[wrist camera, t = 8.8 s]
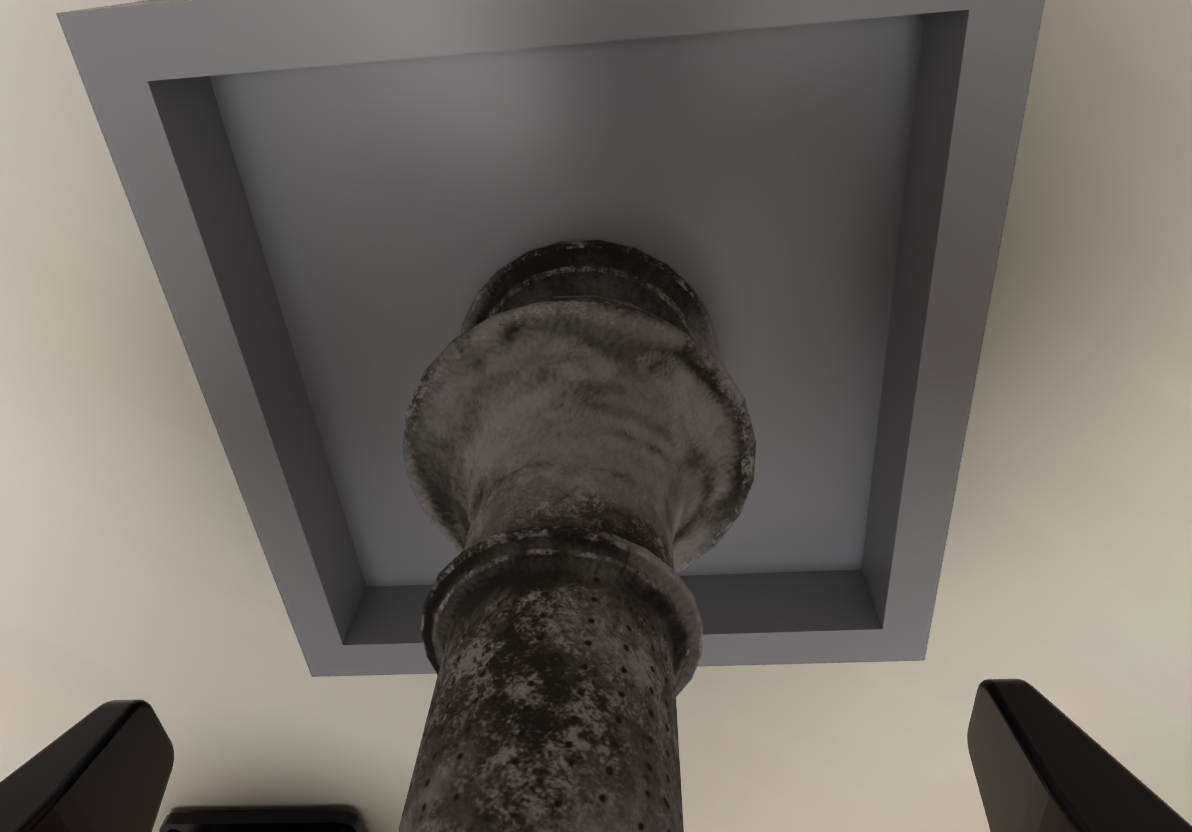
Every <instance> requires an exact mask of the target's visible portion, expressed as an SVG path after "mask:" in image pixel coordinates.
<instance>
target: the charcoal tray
mask: <svg viewBox="0 0 1192 832" xmlns="http://www.w3.org/2000/svg"><path fill="white" fill-rule="evenodd" d="M1044 1H1045V0H149V1H141V2H134V3H127V4H119V5H112V6H105V7H98V8H91V9H84V10H76V11H69V12H62V13H56V14H57V17H58V19H59V22H60V24H61V27H62V30H63V32H64V35H65V37H66V40H67V43H68V45H69V48H70V50H71V53H72V56H73V58H74V61H75V63H76V66H77V69H78V71H79V74H80V76H81V79H82V81H83V84H84V87H85V89H86V92H87V94H88V97H89V100H90V102H91V105H92V107H93V110H94V113H95V115H96V118H97V120H98V123H99V126H100V128H101V131H102V133H103V136H104V139H105V141H106V144H107V146H108V149H109V152H110V154H111V157H112V159H113V162H114V164H115V167H116V170H117V172H118V175H119V177H120V180H121V183H122V185H123V188H124V190H125V193H126V196H127V198H128V201H129V203H130V206H131V209H132V211H133V214H134V216H135V219H136V222H137V224H138V227H139V229H140V232H141V235H142V237H143V240H144V242H145V245H146V247H147V250H148V253H149V255H150V258H151V260H152V263H153V266H154V268H155V271H156V273H157V276H158V279H159V281H160V284H161V286H162V289H163V292H164V294H165V297H166V299H167V302H168V305H169V307H170V310H171V312H172V315H173V318H174V320H175V323H176V325H177V328H178V331H179V333H180V336H181V338H182V341H183V343H184V346H185V349H186V351H187V354H188V356H189V359H190V362H191V364H192V367H193V369H194V372H195V375H196V377H197V380H198V382H199V385H200V388H201V390H202V393H203V395H204V398H205V401H206V403H207V406H208V408H209V411H210V414H211V416H212V419H213V421H214V424H215V426H216V429H217V432H218V434H219V437H220V439H221V442H222V445H223V447H224V450H225V452H226V455H227V458H228V460H229V463H230V465H231V468H232V471H233V473H234V476H235V478H236V481H237V484H238V486H239V489H240V491H241V494H242V497H243V499H244V502H245V504H246V507H247V509H248V512H249V515H250V517H251V520H252V522H253V525H254V528H255V530H256V533H257V535H258V538H259V541H260V543H261V546H262V548H263V551H264V554H265V556H266V559H267V561H268V564H269V567H270V569H271V572H272V574H273V577H274V580H275V582H276V585H277V587H278V590H279V592H280V595H281V598H282V600H283V603H284V605H285V608H286V611H287V613H288V616H289V618H290V621H291V624H292V626H293V629H294V631H295V634H296V637H297V639H298V642H299V644H300V647H301V650H302V652H303V655H304V657H305V660H306V663H307V665H308V668H309V670H310V673H311V676H312V677H318V676H355V675H393V674H430V673H436V671H435V670H434V668H433V666H432V665H431V663H430V661H429V660H428V658H427V656H426V653H425V648H424V644H423V639H422V635H421V631H420V629H421V621H422V614H423V606H424V601H425V598H426V596H427V594H428V593H429V591H430V589H431V587H432V585H433V583H434V581H435V580H436V578H437V576H438V574H439V573H440V572H441V571H442V570H443V569H444V568H445V567H446V566H447V565H448V564H449V563H450V562H451V561H452V560H454V559H455V558H456V557H457V556H458V555H459V554H460V553H461V552H459V551H458V550H456V549H455V548H454V547H453V546H452V545H451V544H450V543H449V541H448V540H447V539H446V538H445V537H444V536H443V535H442V534H441V533H440V532H439V531H438V530H437V529H436V528H435V527H434V526H433V525H432V523H431V522H430V521H429V520H428V519H427V517H426V515H425V513H424V511H423V509H422V508H421V506H420V504H419V502H418V500H417V498H416V497H415V495H414V493H413V491H412V489H411V487H410V484H409V479H408V475H407V470H406V465H405V461H404V456H403V451H402V446H403V436H404V427H405V417H406V410H407V408H408V406H409V404H410V401H411V399H412V397H413V395H414V393H415V390H416V388H417V386H418V384H419V382H420V379H421V377H422V375H423V373H424V371H425V370H426V369H427V368H428V367H429V365H430V364H431V363H432V362H433V361H434V360H435V359H436V358H437V357H438V356H439V354H440V353H441V352H442V351H443V350H444V349H445V348H446V347H447V346H448V345H449V343H450V342H451V341H452V340H453V339H455V338H456V337H458V336H460V335H461V329H462V324H463V322H464V320H465V318H466V315H467V313H468V311H469V309H470V307H471V305H472V303H473V301H474V298H475V296H476V294H477V293H478V292H479V291H480V290H481V289H482V288H483V286H484V285H485V284H486V283H487V282H488V281H489V280H490V279H491V278H492V276H493V275H494V274H495V273H496V272H497V271H498V270H499V269H501V268H502V267H504V266H505V265H507V264H509V263H510V262H512V261H513V260H515V259H517V258H518V257H520V256H521V255H523V254H525V253H526V252H528V251H532V250H535V249H538V248H541V247H545V246H548V245H551V244H555V243H558V242H561V241H585V240H601V241H605V242H610V243H615V244H619V245H624V246H628V247H633V248H636V249H638V250H640V251H642V252H644V253H646V254H648V255H649V256H651V257H653V258H655V259H657V260H659V261H661V262H663V263H665V264H667V265H668V266H669V267H670V268H671V269H672V270H674V271H675V272H676V273H677V274H678V275H679V276H680V277H681V278H682V279H683V280H685V281H686V282H687V283H688V284H689V285H690V286H691V287H692V288H693V289H694V291H695V293H696V294H697V296H698V298H699V299H700V301H701V302H702V304H703V306H704V307H705V309H706V310H707V312H708V314H709V315H710V319H711V322H712V326H713V330H714V334H715V337H716V341H717V345H718V360H719V361H720V362H722V363H723V365H724V367H725V368H726V370H727V371H728V373H729V374H730V376H731V378H732V379H733V381H734V382H735V384H736V386H737V387H738V389H739V390H740V392H741V394H742V395H743V397H744V398H745V400H746V404H747V408H748V411H749V415H750V419H751V423H752V427H753V431H754V435H755V438H756V455H755V470H754V481H753V484H752V486H751V489H750V491H749V494H748V496H747V499H746V501H745V504H744V506H743V509H742V511H741V514H740V516H739V517H738V518H737V520H736V521H735V522H734V523H733V525H732V526H731V527H730V528H729V530H728V531H727V532H726V534H725V535H724V536H723V537H722V539H721V540H720V541H719V542H718V544H717V545H716V546H715V547H713V548H712V549H711V550H709V551H708V552H707V553H705V554H704V555H703V556H701V557H700V558H699V559H697V560H696V561H695V562H693V563H692V564H691V565H689V566H688V567H687V568H685V569H683V570H681V571H679V572H676V573H677V574H678V575H679V577H680V578H681V579H682V581H683V582H684V583H685V585H686V586H687V587H688V589H689V590H690V591H691V593H692V594H693V596H694V599H695V601H696V604H697V607H698V610H699V613H700V616H701V619H702V623H703V640H702V655H701V658H700V660H699V663H698V665H697V666H731V665H769V664H806V663H844V662H881V661H919V660H925V654H926V649H927V644H928V638H929V633H930V627H931V622H932V616H933V611H934V605H935V600H936V594H937V589H938V583H939V578H940V572H941V567H942V561H943V556H944V550H945V545H946V539H947V534H948V528H949V523H950V517H951V512H952V506H953V501H954V495H955V490H956V484H957V479H958V473H959V468H960V462H961V457H962V451H963V446H964V440H965V435H966V429H967V424H968V418H969V413H970V407H971V402H972V396H973V391H974V385H975V380H976V374H977V369H978V363H979V358H980V352H981V347H982V341H983V336H984V330H985V325H986V319H987V314H988V308H989V303H990V297H991V292H992V286H993V281H994V275H995V270H996V264H997V259H998V253H999V248H1000V242H1001V237H1002V231H1003V226H1004V220H1005V215H1006V209H1007V204H1008V198H1009V193H1010V187H1011V182H1012V176H1013V171H1014V165H1015V160H1016V154H1017V149H1018V143H1019V138H1020V132H1021V127H1022V121H1023V116H1024V110H1025V105H1026V99H1027V94H1028V88H1029V83H1030V78H1031V72H1032V67H1033V61H1034V56H1035V50H1036V45H1037V39H1038V34H1039V28H1040V23H1041V17H1042V12H1043V6H1044Z"/></svg>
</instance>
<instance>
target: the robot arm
mask: <svg viewBox="0 0 1192 832" xmlns="http://www.w3.org/2000/svg"><path fill="white" fill-rule="evenodd" d="M967 740H968V748H969V754H970V758H971V761H972V765H973V769H974V772H975V776H976V780H977V783H978V787H979V791H980V794H981V798H982V802H983V805H984V809H985V813H986V816H987V820H988V824H989V827H990V831H991V832H1192V826H1191V825H1190V824H1189V823H1188V822H1187V821H1186V820H1185V819H1183V818H1182V817H1181V816H1180V815H1179V814H1178V813H1177V812H1175V811H1174V810H1173V809H1172V808H1171V807H1170V806H1169V805H1167V804H1166V803H1165V802H1164V801H1163V800H1162V799H1161V798H1159V797H1158V796H1157V795H1156V794H1155V793H1154V792H1153V791H1151V790H1150V789H1149V788H1148V787H1147V786H1146V785H1145V784H1144V783H1142V782H1141V781H1140V780H1139V779H1138V778H1137V777H1136V776H1134V775H1133V774H1132V773H1131V772H1130V771H1129V770H1128V769H1126V768H1125V767H1124V766H1123V765H1122V764H1121V763H1120V762H1118V761H1117V760H1116V759H1115V758H1114V757H1113V756H1112V755H1110V754H1109V753H1108V752H1107V751H1106V750H1105V749H1104V748H1102V747H1101V746H1100V745H1099V744H1098V743H1097V742H1096V741H1094V740H1093V739H1092V738H1091V737H1090V736H1089V735H1088V734H1087V733H1085V732H1084V731H1083V730H1082V729H1081V728H1080V727H1079V726H1077V725H1076V724H1075V723H1074V722H1073V721H1072V720H1071V719H1069V718H1068V717H1067V716H1066V715H1065V714H1064V713H1063V712H1061V711H1060V710H1059V709H1058V708H1057V707H1056V706H1055V705H1053V704H1052V703H1051V702H1050V701H1049V700H1048V699H1047V698H1045V697H1044V696H1043V695H1042V694H1041V693H1040V692H1039V691H1037V690H1036V689H1035V688H1034V687H1033V686H1032V685H1030V684H1029V683H1027V682H1025V681H1023V680H1021V679H988V680H984V681H983V682H981V684H980V685H979V687H978V689H977V693H976V697H975V702H974V706H973V710H972V714H971V718H970V723H969V727H968V734H967ZM173 762H174V750H173V745H172V743H171V741H170V739H169V737H168V735H167V733H166V732H165V730H164V728H163V726H162V724H161V723H160V721H159V719H158V717H157V715H156V714H155V712H154V710H153V708H152V707H151V705H150V704H149V703H147V702H146V701H144V700H114V701H109V702H106V703H104V704H102V705H101V706H99V707H98V708H96V709H95V710H94V711H92V712H91V713H90V714H88V715H87V716H86V717H85V718H83V719H82V720H81V721H79V722H78V723H77V724H75V725H74V726H73V727H72V728H70V729H69V730H68V731H66V732H65V733H64V734H62V735H61V736H60V737H59V738H57V739H56V740H55V741H53V742H52V743H51V744H49V745H48V746H47V747H46V748H44V749H43V750H42V751H40V752H39V753H38V754H36V755H35V756H34V757H32V758H31V759H30V760H29V761H27V762H26V763H25V764H23V765H22V766H21V767H19V768H18V769H17V770H16V771H14V772H13V773H12V774H10V775H9V776H8V777H6V778H5V779H4V780H3V781H1V782H0V832H152V830H153V827H154V823H155V820H156V817H157V814H158V811H159V808H160V805H161V802H162V799H163V796H164V793H165V789H166V786H167V783H168V780H169V777H170V774H171V771H172V767H173ZM159 831H160V832H365V830H364V828H363V825H362V823H361V820H360V819H359V817H358V816H357V815H355V814H354V813H352V812H349V811H342V810H333V811H257V812H182V813H170V814H169V815H167V816H166V818H165V820H164V822H163V824H162V826H161V828H160V830H159Z"/></svg>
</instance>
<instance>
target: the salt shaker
mask: <svg viewBox="0 0 1192 832" xmlns="http://www.w3.org/2000/svg"><path fill="white" fill-rule="evenodd" d="M402 451H403V456H404V461H405V465H406V470H407V475H408V479H409V484H410V487H411V489H412V491H413V493H414V495H415V497H416V498H417V500H418V502H419V504H420V506H421V508H422V509H423V511H424V513H425V515H426V517H427V519H428V520H429V521H430V522H431V523H432V525H433V526H434V527H435V528H436V529H437V530H438V531H439V532H440V533H441V534H442V535H443V536H444V537H445V538H446V539H447V540H448V541H449V543H450V544H451V545H452V546H453V547H454V548H455V549H456V550H458V551H459V552H461V553H460V554H459V555H458V556H457V557H456V558H455V559H454V560H452V561H451V562H450V563H449V564H448V565H447V566H446V567H445V568H444V569H443V570H442V571H441V572H440V573H439V574H438V576H437V578H436V580H435V581H434V583H433V585H432V587H431V589H430V591H429V593H428V594H427V596H426V598H425V601H424V606H423V614H422V621H421V629H420V631H421V635H422V639H423V644H424V648H425V653H426V656H427V658H428V660H429V661H430V663H431V665H432V666H433V668H434V670H435V671H436V673H437V675H438V677H437V681H436V685H435V689H434V693H433V697H432V701H431V705H430V709H429V712H428V716H427V720H426V724H425V728H424V732H423V736H422V740H421V744H420V748H419V752H418V756H417V759H416V763H415V767H414V771H413V775H412V779H411V783H410V787H409V791H408V795H407V799H406V803H405V807H404V810H403V814H402V818H401V822H400V827H399V832H684V830H683V813H682V795H681V778H680V761H679V744H678V727H677V709H676V697H677V695H678V694H679V693H680V692H681V691H682V690H683V688H684V687H685V686H686V685H687V684H688V683H689V681H690V680H691V679H692V677H693V675H694V672H695V670H696V667H697V665H698V663H699V660H700V658H701V655H702V640H703V623H702V619H701V616H700V613H699V610H698V607H697V604H696V601H695V599H694V596H693V594H692V593H691V591H690V590H689V589H688V587H687V586H686V585H685V583H684V582H683V581H682V579H681V578H680V577H679V575H678V574H677V573H676V572H679V571H681V570H683V569H685V568H687V567H688V566H689V565H691V564H692V563H693V562H695V561H696V560H697V559H699V558H700V557H701V556H703V555H704V554H705V553H707V552H708V551H709V550H711V549H712V548H713V547H715V546H716V545H717V544H718V542H719V541H720V540H721V539H722V537H723V536H724V535H725V534H726V532H727V531H728V530H729V528H730V527H731V526H732V525H733V523H734V522H735V521H736V520H737V518H738V517H739V516H740V514H741V511H742V509H743V506H744V504H745V501H746V499H747V496H748V494H749V491H750V489H751V486H752V484H753V481H754V470H755V455H756V438H755V435H754V431H753V427H752V423H751V419H750V415H749V411H748V408H747V404H746V400H745V398H744V397H743V395H742V394H741V392H740V390H739V389H738V387H737V386H736V384H735V382H734V381H733V379H732V378H731V376H730V374H729V373H728V371H727V370H726V368H725V367H724V365H723V363H722V362H720V361H719V360H718V345H717V341H716V337H715V334H714V330H713V326H712V322H711V319H710V315H709V314H708V312H707V310H706V309H705V307H704V306H703V304H702V302H701V301H700V299H699V298H698V296H697V294H696V293H695V291H694V289H693V288H692V287H691V286H690V285H689V284H688V283H687V282H686V281H685V280H683V279H682V278H681V277H680V276H679V275H678V274H677V273H676V272H675V271H674V270H672V269H671V268H670V267H669V266H668V265H667V264H665V263H663V262H661V261H659V260H657V259H655V258H653V257H651V256H649V255H648V254H646V253H644V252H642V251H640V250H638V249H636V248H633V247H628V246H624V245H619V244H615V243H610V242H605V241H601V240H585V241H561V242H558V243H555V244H551V245H548V246H545V247H541V248H538V249H535V250H532V251H528V252H526V253H525V254H523V255H521V256H520V257H518V258H517V259H515V260H513V261H512V262H510V263H509V264H507V265H505V266H504V267H502V268H501V269H499V270H498V271H497V272H496V273H495V274H494V275H493V276H492V278H491V279H490V280H489V281H488V282H487V283H486V284H485V285H484V286H483V288H482V289H481V290H480V291H479V292H478V293H477V294H476V296H475V298H474V301H473V303H472V305H471V307H470V309H469V311H468V313H467V315H466V318H465V320H464V322H463V324H462V329H461V335H460V336H458V337H456V338H455V339H453V340H452V341H451V342H450V343H449V345H448V346H447V347H446V348H445V349H444V350H443V351H442V352H441V353H440V354H439V356H438V357H437V358H436V359H435V360H434V361H433V362H432V363H431V364H430V365H429V367H428V368H427V369H426V370H425V371H424V373H423V375H422V377H421V379H420V382H419V384H418V386H417V388H416V390H415V393H414V395H413V397H412V399H411V401H410V404H409V406H408V408H407V410H406V417H405V427H404V436H403V446H402Z"/></svg>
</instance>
